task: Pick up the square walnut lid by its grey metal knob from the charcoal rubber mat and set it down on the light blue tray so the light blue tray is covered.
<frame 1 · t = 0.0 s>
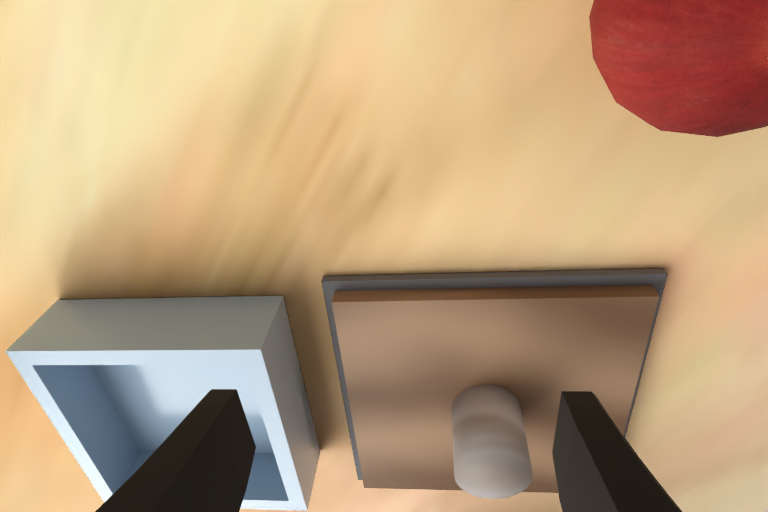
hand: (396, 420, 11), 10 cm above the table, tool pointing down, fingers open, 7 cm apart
lid: (484, 395, 24), resting on mat
mat: (483, 389, 25), on the table
light blue tray: (200, 382, 26), on the table
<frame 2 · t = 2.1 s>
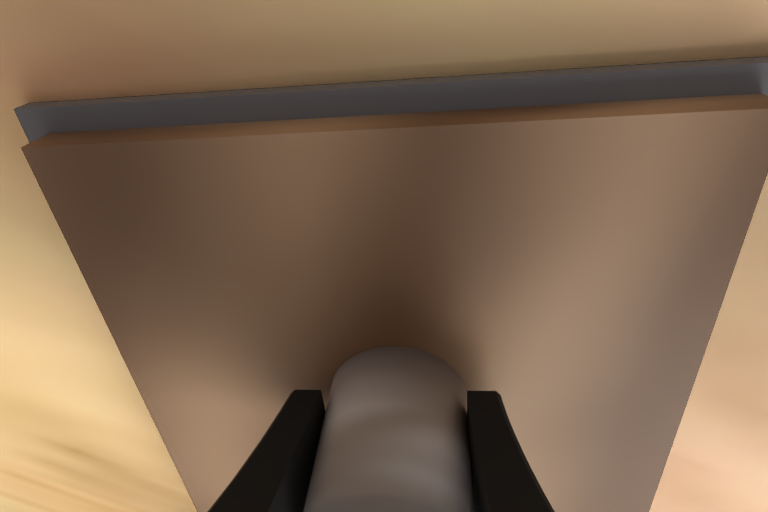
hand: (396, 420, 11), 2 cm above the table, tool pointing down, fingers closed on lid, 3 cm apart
lid: (399, 371, 13), resting on mat, touching gripper
mat: (400, 360, 13), on the table
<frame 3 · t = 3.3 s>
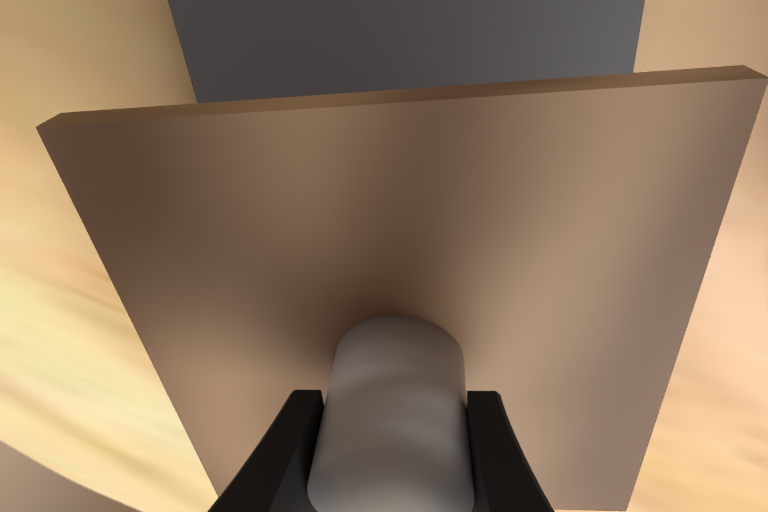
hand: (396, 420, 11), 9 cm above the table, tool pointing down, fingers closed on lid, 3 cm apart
lid: (400, 340, 13), point 7 cm above the table, touching gripper
mat: (408, 135, 17), on the table
when the fingers open (6 cm above the table, at t = 4.9 s): lid stays where it is, resting on light blue tray.
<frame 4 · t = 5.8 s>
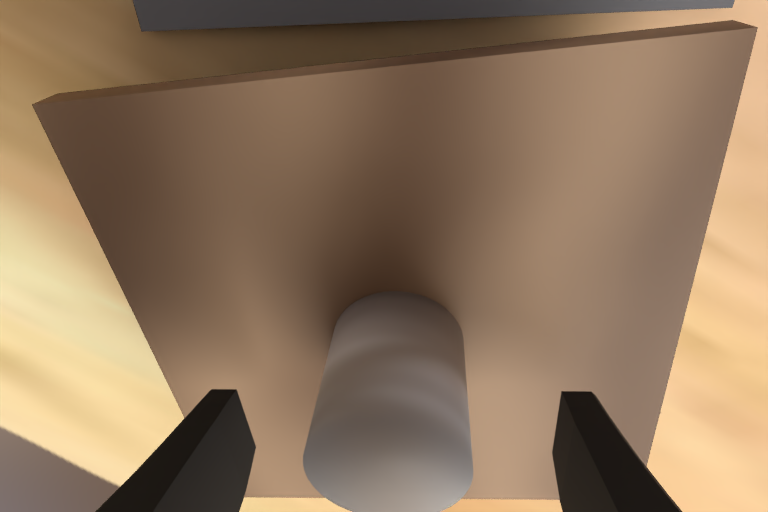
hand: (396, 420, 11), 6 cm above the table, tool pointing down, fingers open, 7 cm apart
lid: (399, 322, 13), point 3 cm above the table, touching light blue tray
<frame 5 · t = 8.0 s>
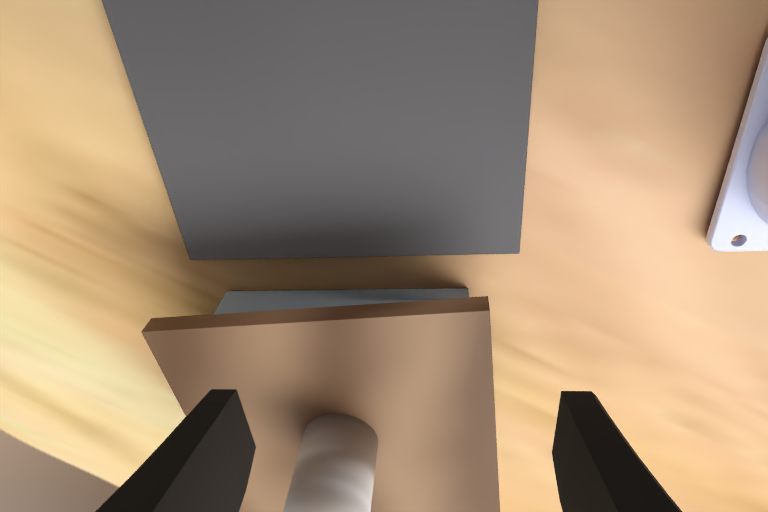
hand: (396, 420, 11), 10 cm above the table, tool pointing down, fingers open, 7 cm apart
lid: (343, 423, 22), point 3 cm above the table, touching light blue tray
mat: (326, 83, 18), on the table
light blue tray: (357, 377, 26), on the table
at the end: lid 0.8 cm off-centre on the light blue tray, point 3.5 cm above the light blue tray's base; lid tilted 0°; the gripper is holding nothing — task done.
